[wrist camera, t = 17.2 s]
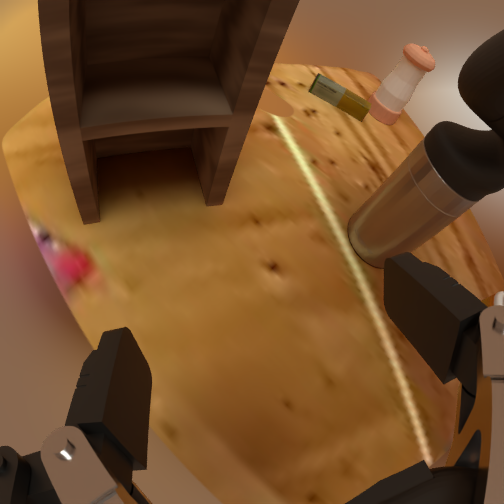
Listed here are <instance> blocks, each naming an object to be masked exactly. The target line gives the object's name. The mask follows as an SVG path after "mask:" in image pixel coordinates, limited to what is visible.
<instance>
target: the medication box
mask: <svg viewBox="0 0 504 504" xmlns="http://www.w3.org/2000/svg"><path fill="white" fill-rule="evenodd" d="M308 92H310V93H312V94H314V95H316V96H317V97H319V98H321V99H323V100H325V101H327V102H328V103H330V104H332V105H334V106H335V107H337V108H339V109H341V110H342V111H344V112H346V113H348V114H349V115H351V116H353V117H354V118H356V119H358V120H359V121H361V122H362V120H363V118H364V117H365V116H366V114H367V113H368V111H369V110H370V108H371V103H369V102H368V101H366V100H364V99H363V98H361V97H360V96H358V95H356V94H355V93H353V92H351V91H349V90H348V89H346V88H344V87H342V86H341V85H339V84H337V83H335V82H334V81H332V80H330V79H328V78H326V77H324V76H323V75H321V74H319V73H318V74H317V76H316V78H315V79H314V81H313V83H312V85H311V87H310V89H309V91H308Z"/></svg>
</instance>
